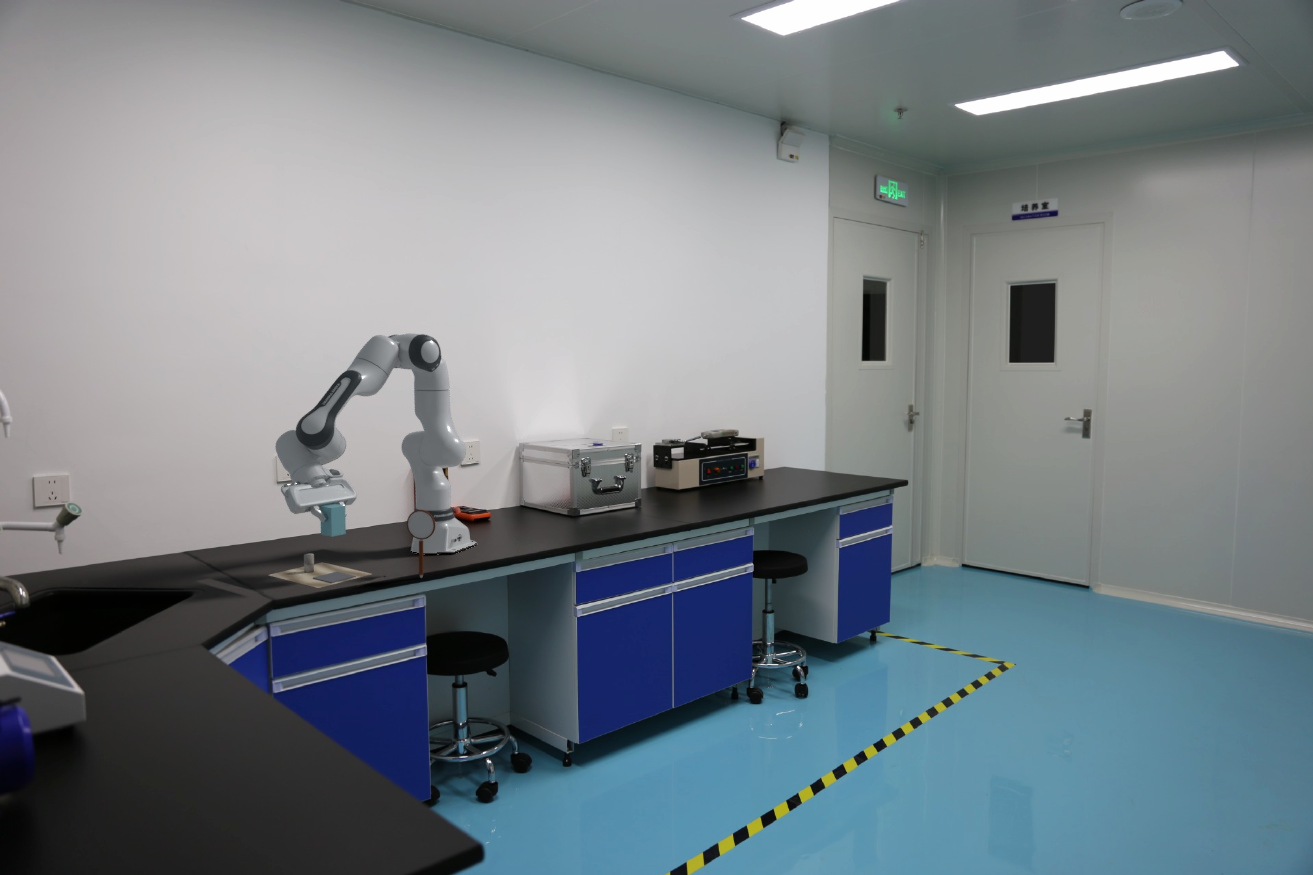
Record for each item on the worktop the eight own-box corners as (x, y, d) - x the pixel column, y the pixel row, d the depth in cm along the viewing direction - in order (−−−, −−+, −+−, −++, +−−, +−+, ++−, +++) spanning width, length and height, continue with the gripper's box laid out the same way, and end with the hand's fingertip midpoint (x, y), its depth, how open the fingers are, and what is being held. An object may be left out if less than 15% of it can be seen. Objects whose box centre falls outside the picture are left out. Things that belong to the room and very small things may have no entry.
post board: (322, 567, 252) (322, 545, 251) (372, 579, 241) (372, 556, 240) (267, 580, 237) (267, 557, 236) (318, 593, 225) (318, 569, 225)
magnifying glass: (405, 577, 243) (405, 509, 241) (408, 576, 245) (408, 508, 243) (433, 579, 242) (433, 511, 240) (436, 578, 243) (436, 510, 241)
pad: (337, 572, 241) (337, 571, 241) (355, 577, 237) (355, 575, 237) (312, 578, 234) (312, 577, 234) (331, 583, 230) (331, 582, 230)
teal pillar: (334, 531, 238) (334, 503, 237) (345, 533, 235) (345, 505, 234) (320, 534, 234) (320, 506, 233) (331, 536, 231) (331, 508, 230)
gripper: (283, 477, 227) (306, 517, 223) (346, 469, 245) (369, 506, 241) (273, 492, 230) (296, 532, 226) (336, 483, 248) (358, 520, 244)
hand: (334, 518), depth 234 cm, fingers closed on teal pillar, 5 cm apart
